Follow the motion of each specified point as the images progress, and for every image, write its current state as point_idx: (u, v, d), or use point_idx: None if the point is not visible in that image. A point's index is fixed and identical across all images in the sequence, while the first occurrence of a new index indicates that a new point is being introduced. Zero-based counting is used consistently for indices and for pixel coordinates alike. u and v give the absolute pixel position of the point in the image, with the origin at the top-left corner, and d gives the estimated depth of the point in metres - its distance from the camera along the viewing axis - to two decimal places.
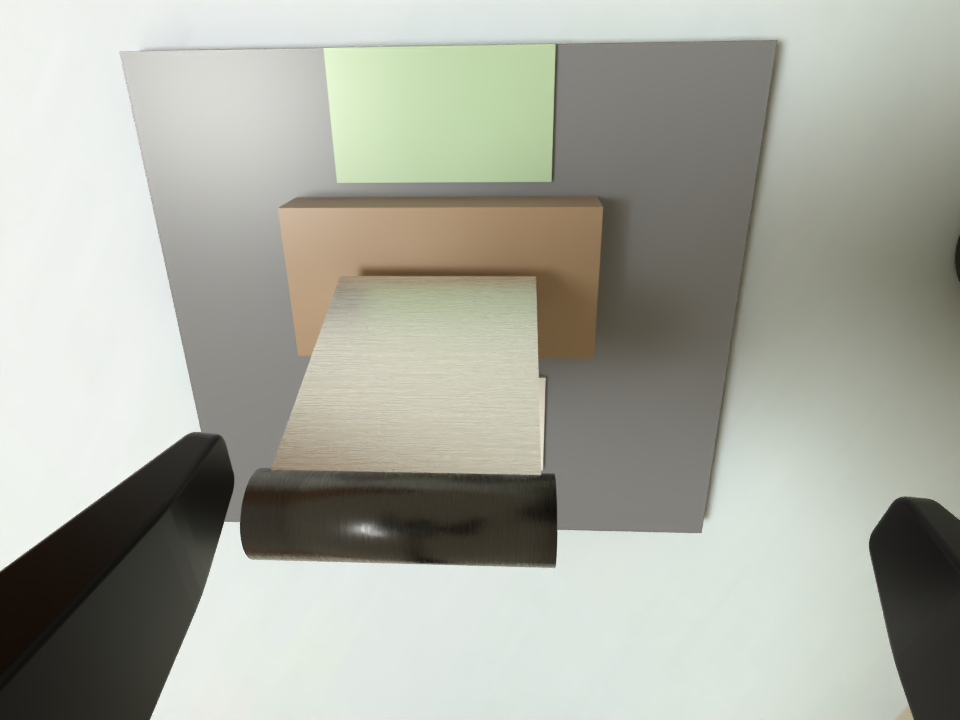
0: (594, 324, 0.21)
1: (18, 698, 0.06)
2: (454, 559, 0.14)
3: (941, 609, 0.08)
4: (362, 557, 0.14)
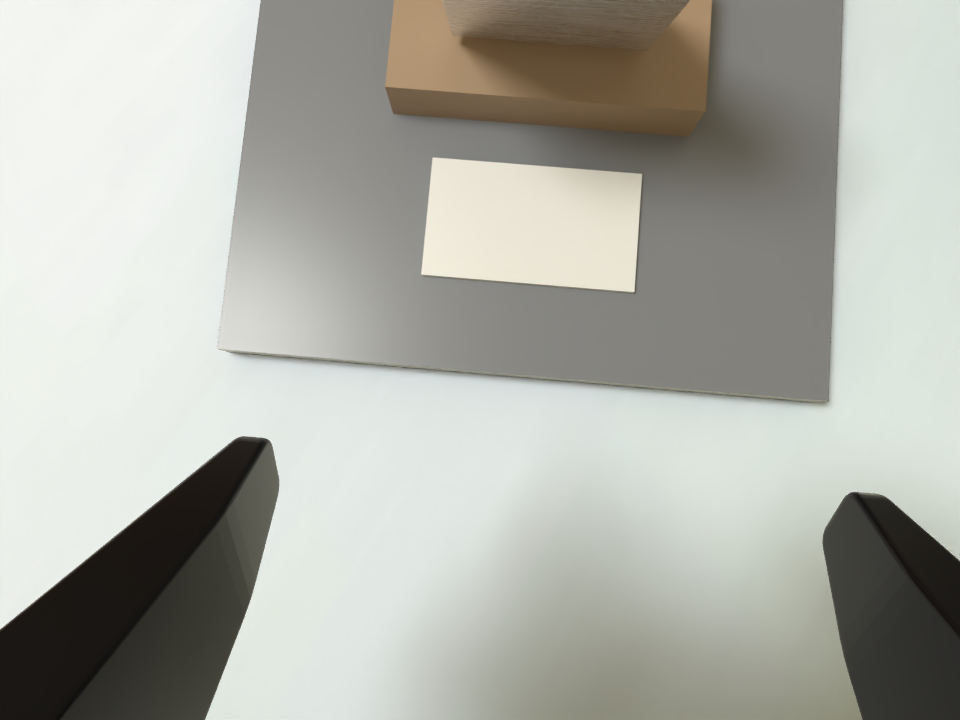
0: (706, 74, 0.20)
1: (91, 705, 0.06)
2: None
3: (885, 604, 0.08)
4: None
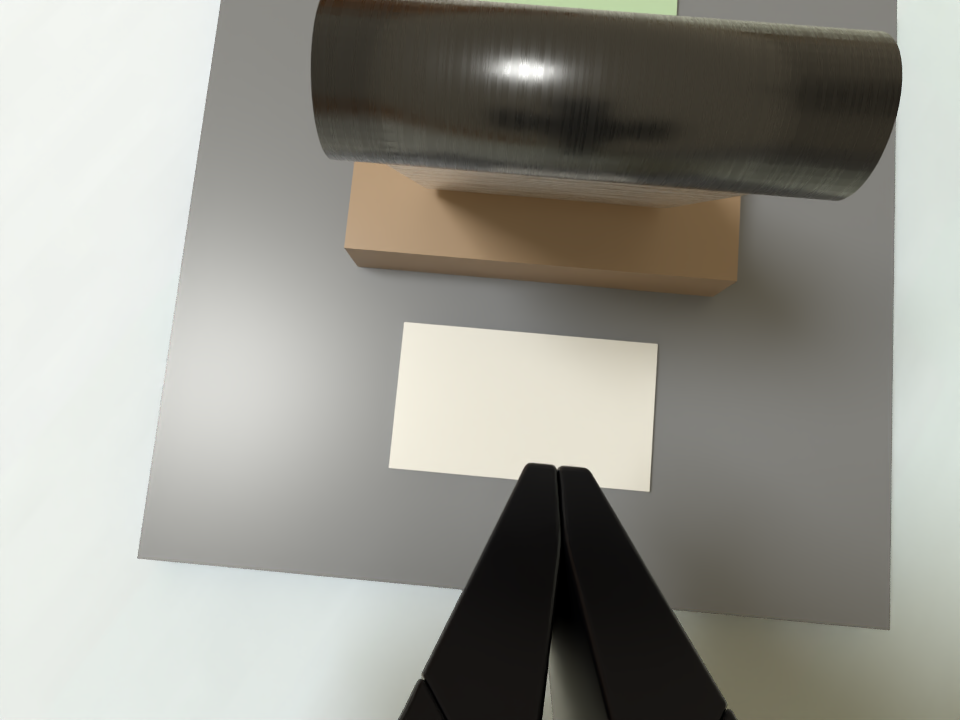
0: (737, 234, 0.17)
1: None
2: (707, 93, 0.07)
3: None
4: (533, 81, 0.07)
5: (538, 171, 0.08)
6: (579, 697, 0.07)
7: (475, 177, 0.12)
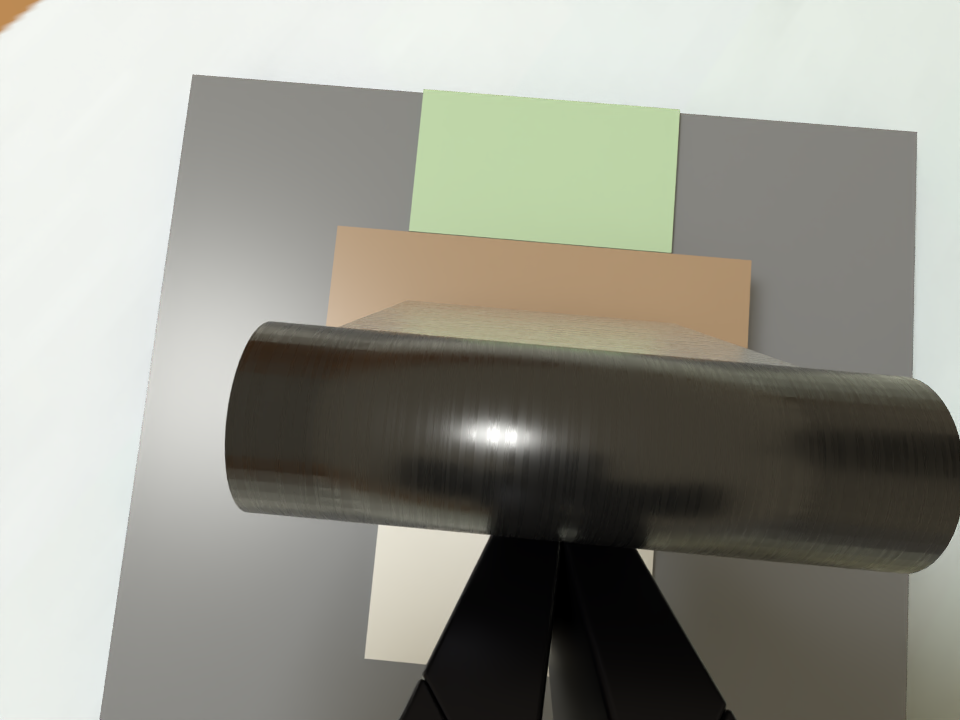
0: None
1: None
2: (720, 492, 0.06)
3: None
4: (503, 473, 0.06)
5: None
6: (579, 697, 0.07)
7: None
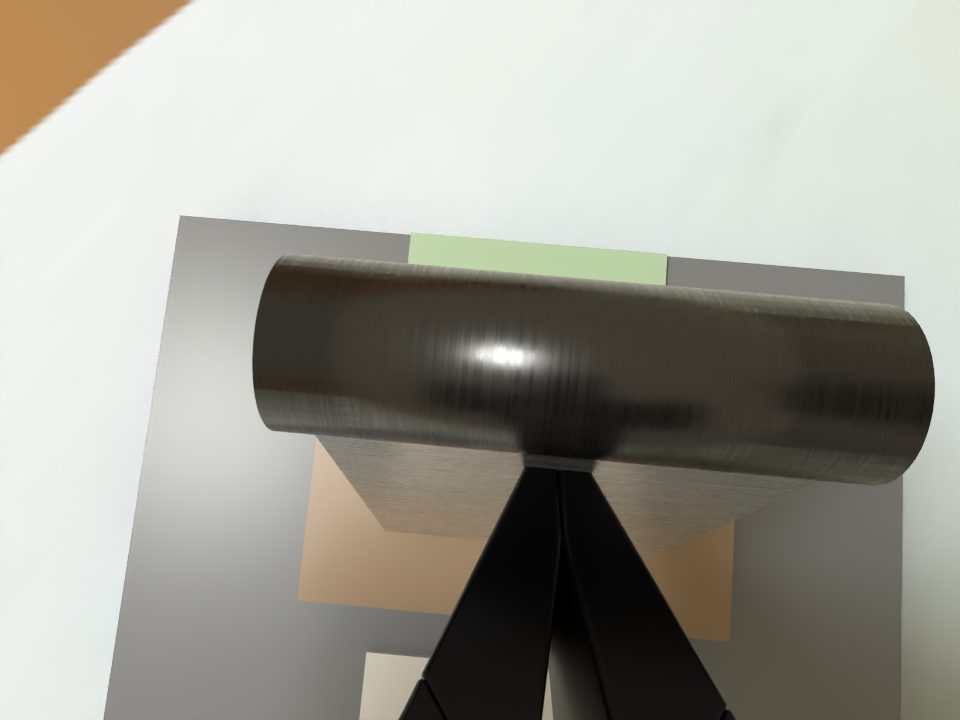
0: (729, 587, 0.15)
1: None
2: (714, 343, 0.06)
3: None
4: (514, 328, 0.06)
5: (521, 439, 0.07)
6: (579, 697, 0.07)
7: (442, 493, 0.10)
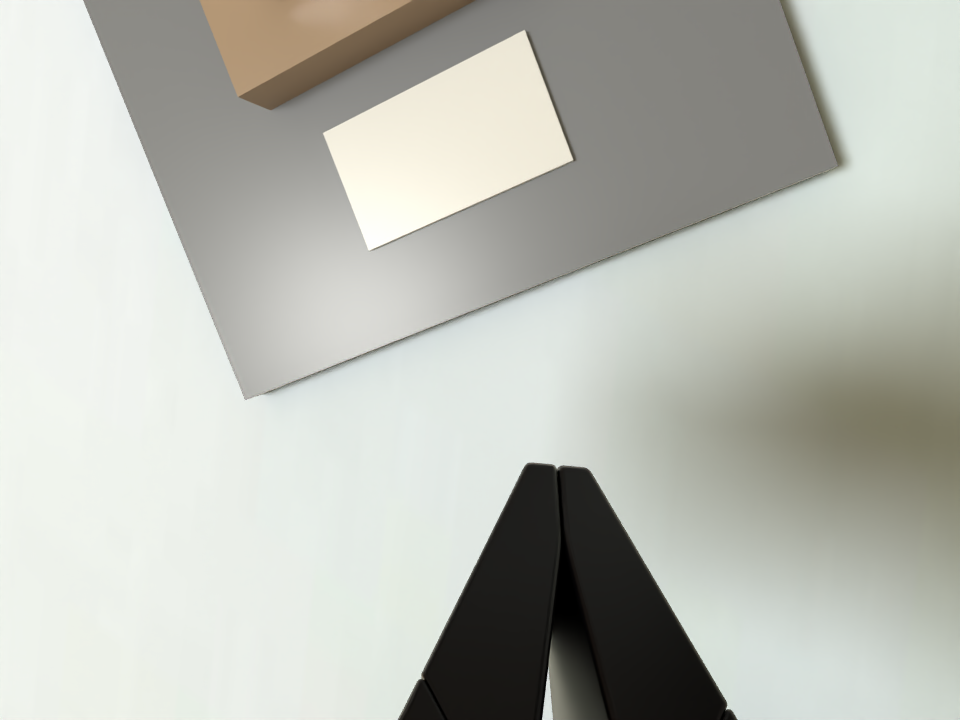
0: None
1: None
2: None
3: None
4: None
5: None
6: (579, 697, 0.07)
7: None
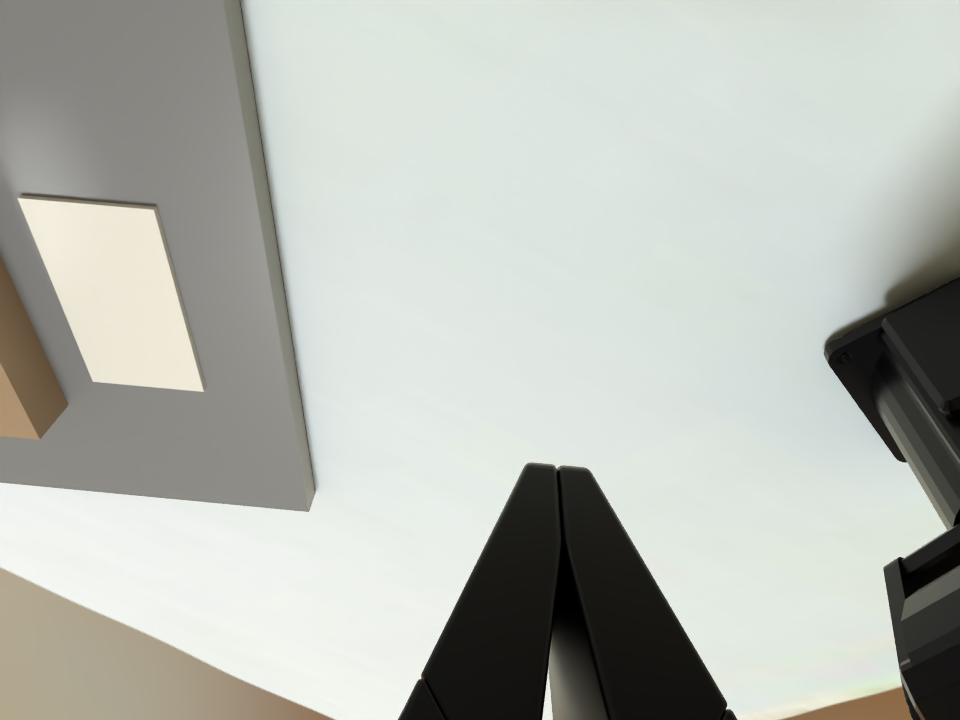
0: None
1: None
2: None
3: None
4: None
5: None
6: (579, 697, 0.07)
7: None
